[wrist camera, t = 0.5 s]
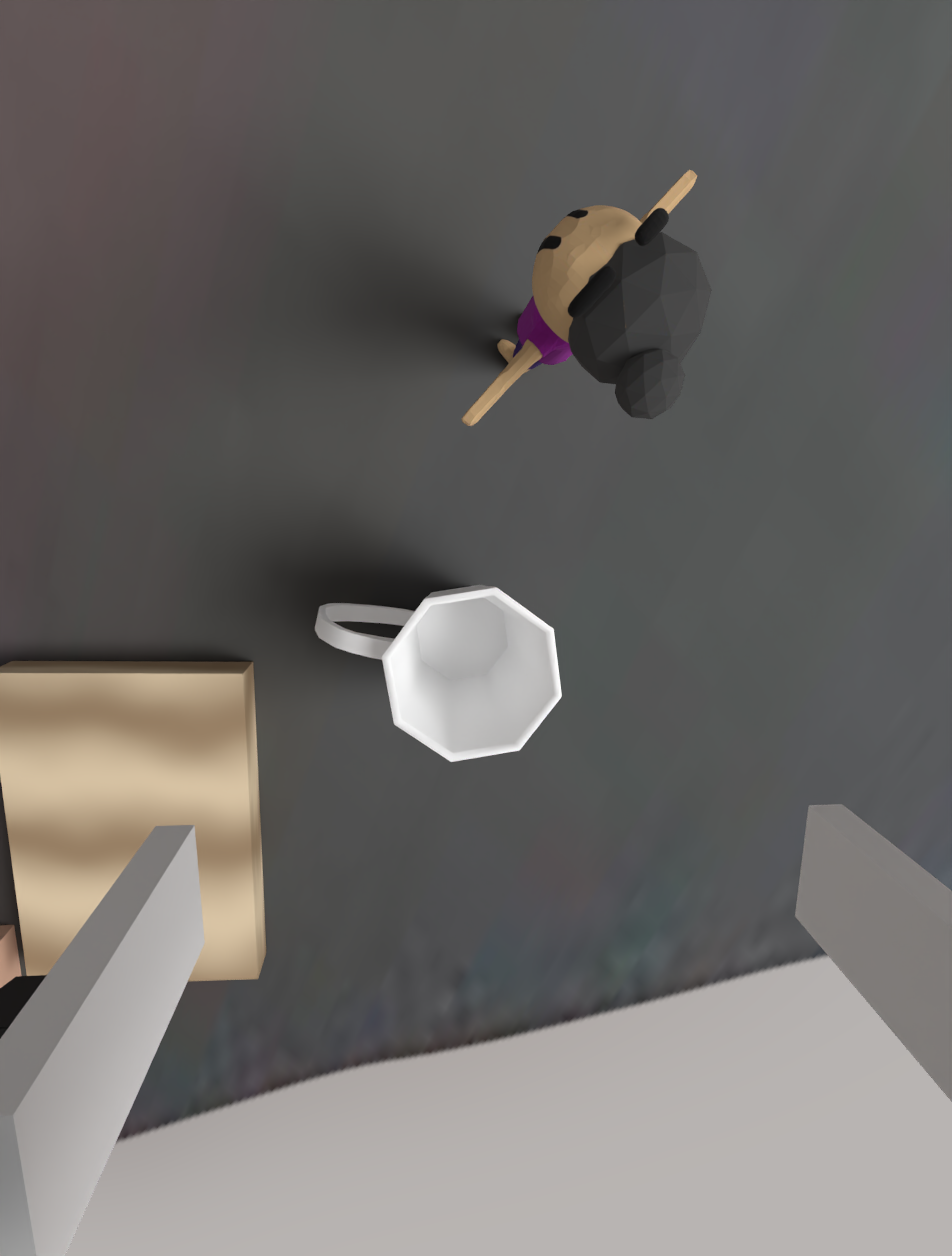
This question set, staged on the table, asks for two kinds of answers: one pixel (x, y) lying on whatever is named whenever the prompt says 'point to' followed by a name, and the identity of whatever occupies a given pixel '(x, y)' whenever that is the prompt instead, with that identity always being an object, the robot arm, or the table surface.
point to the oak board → (131, 795)
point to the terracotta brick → (8, 955)
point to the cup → (458, 667)
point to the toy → (611, 306)
